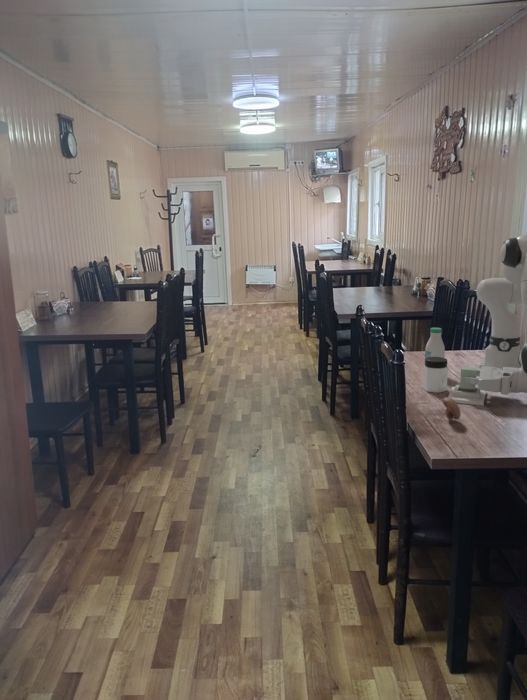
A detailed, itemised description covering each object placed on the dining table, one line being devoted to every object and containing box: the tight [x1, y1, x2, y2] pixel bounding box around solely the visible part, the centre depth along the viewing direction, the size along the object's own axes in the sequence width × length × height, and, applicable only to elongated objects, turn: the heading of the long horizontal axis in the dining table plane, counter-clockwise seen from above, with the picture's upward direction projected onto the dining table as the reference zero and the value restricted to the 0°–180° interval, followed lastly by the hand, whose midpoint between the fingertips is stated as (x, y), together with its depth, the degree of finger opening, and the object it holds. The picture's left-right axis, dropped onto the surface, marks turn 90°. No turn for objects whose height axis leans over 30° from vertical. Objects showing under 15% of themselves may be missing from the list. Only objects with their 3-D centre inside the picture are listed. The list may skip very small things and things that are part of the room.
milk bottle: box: [424, 327, 446, 359], centre depth 232 cm, size 8×8×20 cm
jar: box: [422, 357, 449, 394], centre depth 214 cm, size 9×8×12 cm
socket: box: [447, 384, 487, 406], centre depth 205 cm, size 16×12×3 cm
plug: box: [459, 365, 478, 392], centre depth 204 cm, size 5×5×11 cm
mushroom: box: [441, 396, 461, 422], centre depth 181 cm, size 8×6×8 cm
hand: (465, 375), depth 204 cm, fingers open, 8 cm apart
